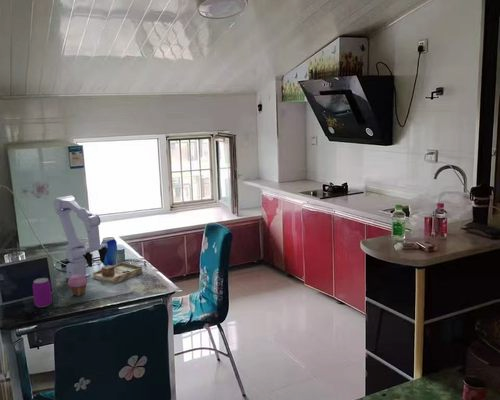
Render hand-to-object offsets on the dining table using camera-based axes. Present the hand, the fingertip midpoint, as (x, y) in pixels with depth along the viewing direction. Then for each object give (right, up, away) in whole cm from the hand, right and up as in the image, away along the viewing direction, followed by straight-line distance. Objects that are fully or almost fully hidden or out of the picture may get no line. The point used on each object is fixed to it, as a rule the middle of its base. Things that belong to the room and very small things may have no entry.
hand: (96, 264), depth 258 cm
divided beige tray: (+8, -8, +12) cm, 16 cm away
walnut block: (+4, -7, +7) cm, 11 cm away
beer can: (-1, -5, +29) cm, 30 cm away
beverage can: (-17, -16, -24) cm, 34 cm away
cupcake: (-5, -13, -13) cm, 19 cm away
